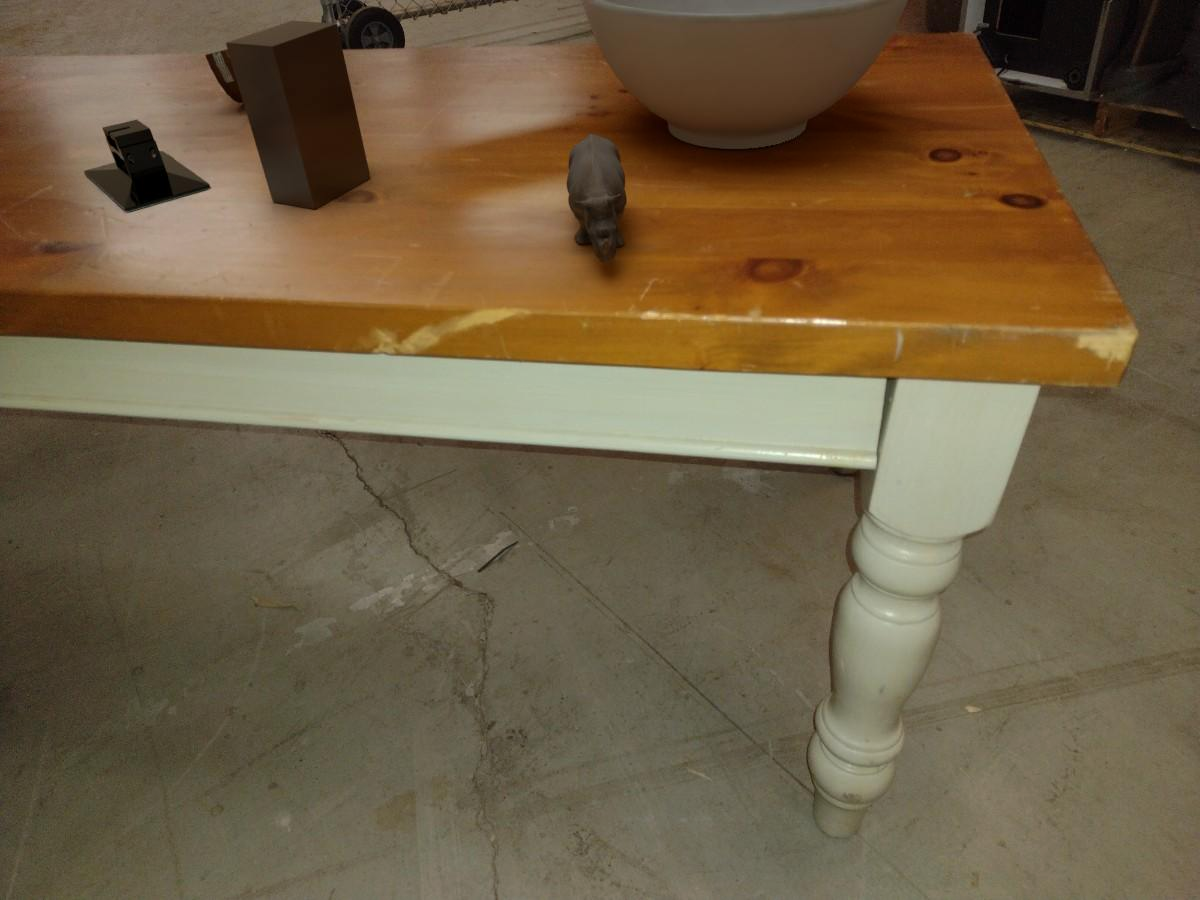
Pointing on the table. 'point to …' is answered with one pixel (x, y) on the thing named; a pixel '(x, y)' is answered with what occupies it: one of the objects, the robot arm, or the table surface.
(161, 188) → the build plate
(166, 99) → the table surface
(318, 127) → the walnut block
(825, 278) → the table surface
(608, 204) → the rhino figurine
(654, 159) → the table surface
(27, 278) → the table surface
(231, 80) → the food container
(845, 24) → the decorative bowl
